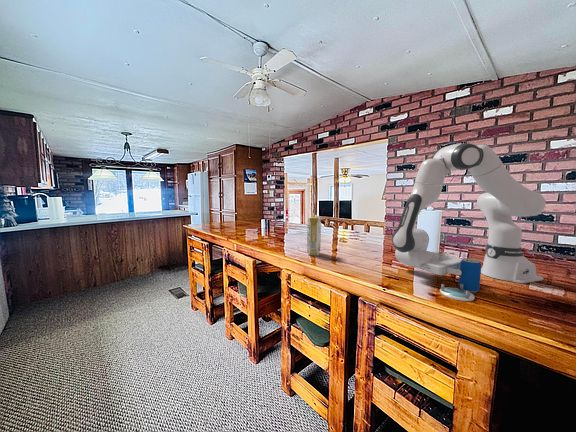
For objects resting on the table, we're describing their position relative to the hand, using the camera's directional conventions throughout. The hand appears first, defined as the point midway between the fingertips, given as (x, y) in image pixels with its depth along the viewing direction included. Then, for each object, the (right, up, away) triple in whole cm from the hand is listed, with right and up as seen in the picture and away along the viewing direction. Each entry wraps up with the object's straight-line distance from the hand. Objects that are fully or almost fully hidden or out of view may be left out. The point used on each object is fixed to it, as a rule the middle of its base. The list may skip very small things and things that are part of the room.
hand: (467, 270), depth 93 cm
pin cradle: (-8, -8, -5) cm, 12 cm away
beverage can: (0, -8, 0) cm, 8 cm away
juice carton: (-55, -2, +52) cm, 76 cm away
